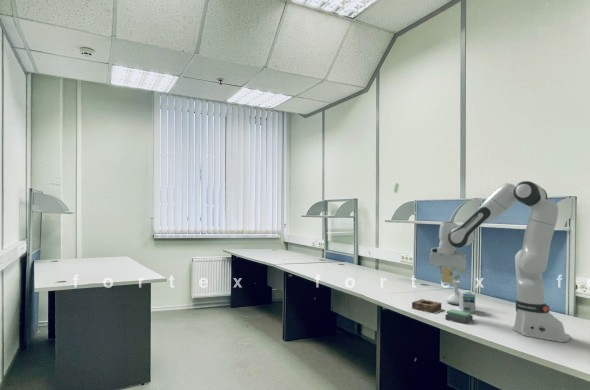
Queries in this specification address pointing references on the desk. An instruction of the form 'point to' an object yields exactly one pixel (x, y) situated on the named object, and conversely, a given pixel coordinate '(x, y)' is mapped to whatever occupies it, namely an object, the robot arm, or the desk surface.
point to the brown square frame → (426, 305)
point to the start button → (459, 313)
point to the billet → (447, 275)
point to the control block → (458, 318)
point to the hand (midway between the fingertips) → (447, 274)
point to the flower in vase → (455, 290)
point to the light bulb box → (467, 301)
